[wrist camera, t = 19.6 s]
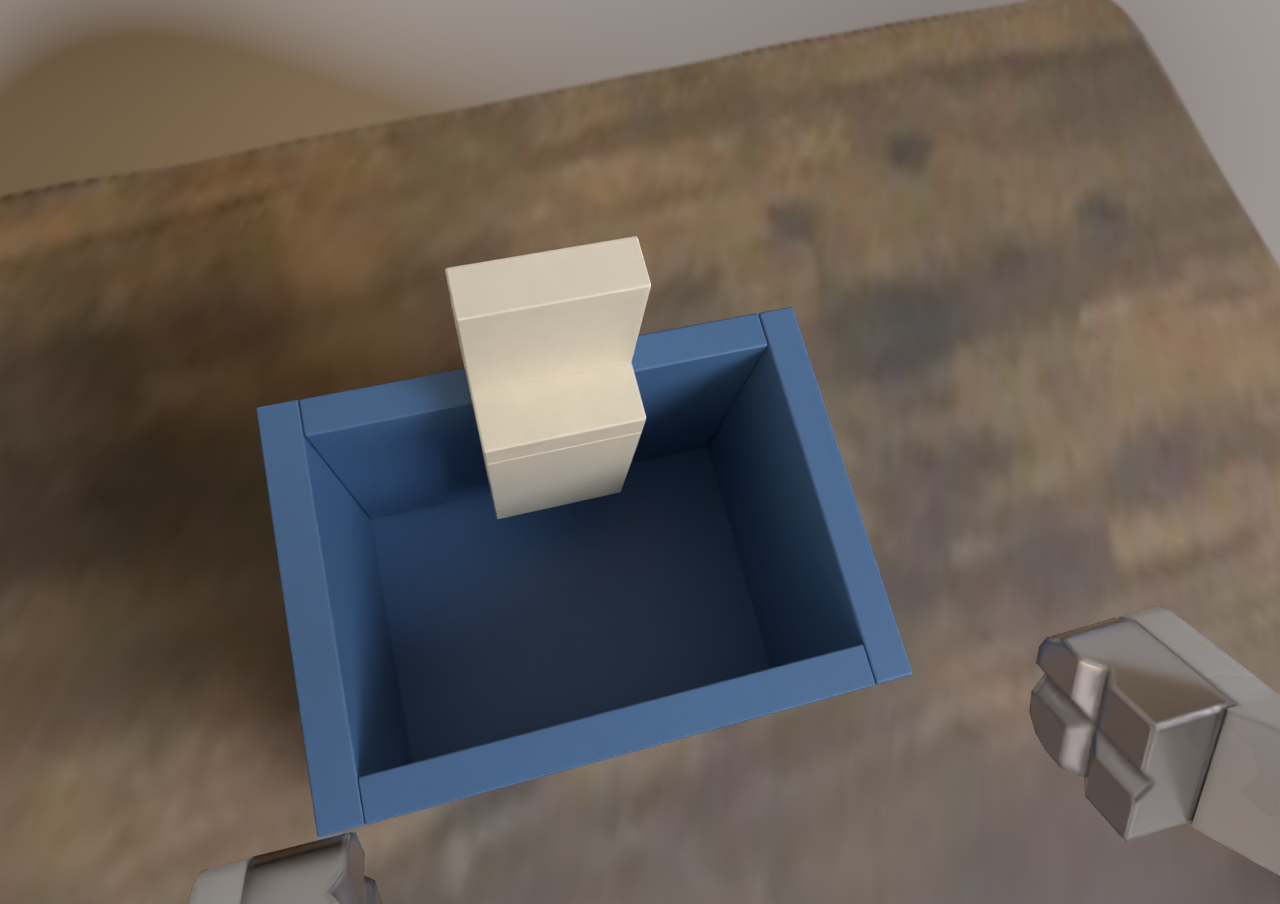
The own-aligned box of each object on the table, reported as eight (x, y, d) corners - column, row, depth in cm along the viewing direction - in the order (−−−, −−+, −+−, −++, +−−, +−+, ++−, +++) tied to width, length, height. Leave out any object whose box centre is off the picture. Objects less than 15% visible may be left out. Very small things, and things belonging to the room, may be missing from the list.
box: (389, 802, 28) (317, 838, 19) (339, 502, 31) (255, 406, 21) (801, 690, 30) (914, 674, 21) (722, 422, 33) (793, 305, 24)
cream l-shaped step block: (496, 520, 27) (470, 390, 17) (469, 395, 28) (430, 202, 18) (621, 492, 28) (671, 352, 18) (590, 372, 29) (620, 173, 19)
